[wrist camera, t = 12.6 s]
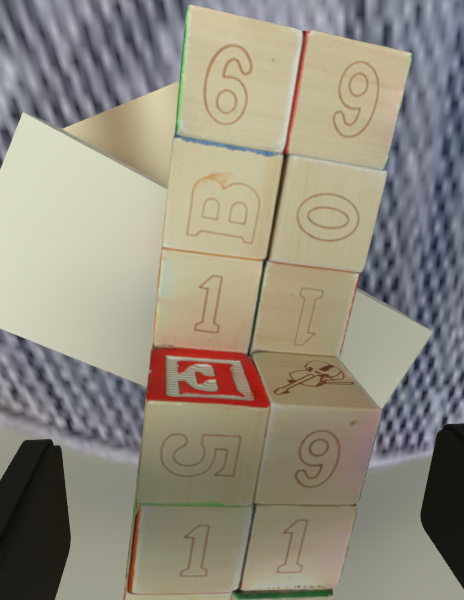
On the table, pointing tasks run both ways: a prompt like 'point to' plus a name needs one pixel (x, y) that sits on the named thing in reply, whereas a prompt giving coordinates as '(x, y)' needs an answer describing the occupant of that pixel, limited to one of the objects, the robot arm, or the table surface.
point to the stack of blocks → (261, 313)
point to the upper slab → (125, 264)
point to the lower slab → (136, 131)
